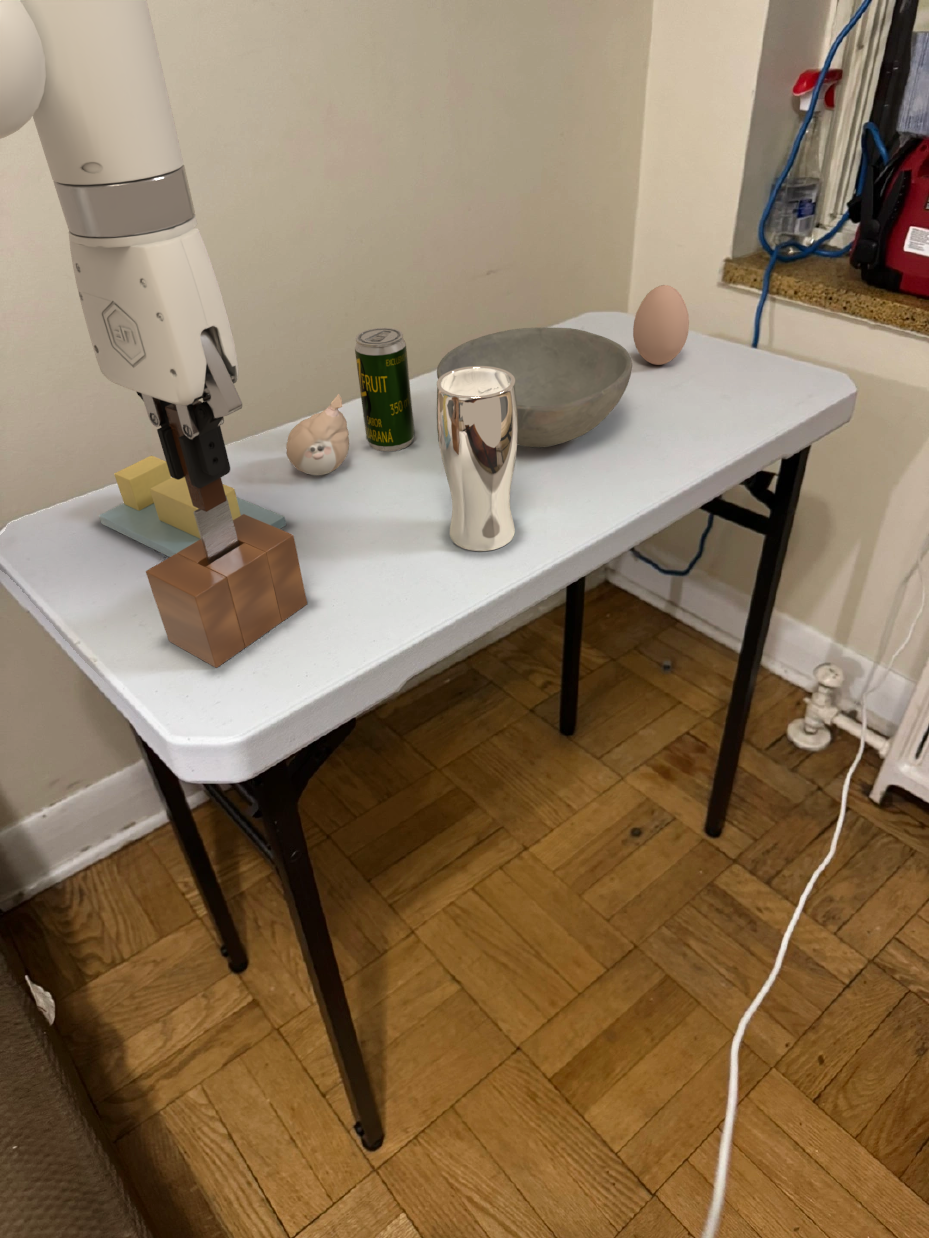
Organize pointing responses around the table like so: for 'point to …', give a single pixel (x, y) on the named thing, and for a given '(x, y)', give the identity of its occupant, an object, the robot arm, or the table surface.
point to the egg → (661, 325)
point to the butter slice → (141, 481)
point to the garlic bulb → (319, 441)
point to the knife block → (229, 591)
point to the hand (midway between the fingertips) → (201, 474)
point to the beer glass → (478, 453)
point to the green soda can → (385, 388)
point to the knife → (207, 503)
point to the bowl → (552, 378)
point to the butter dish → (165, 536)
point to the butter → (183, 504)
